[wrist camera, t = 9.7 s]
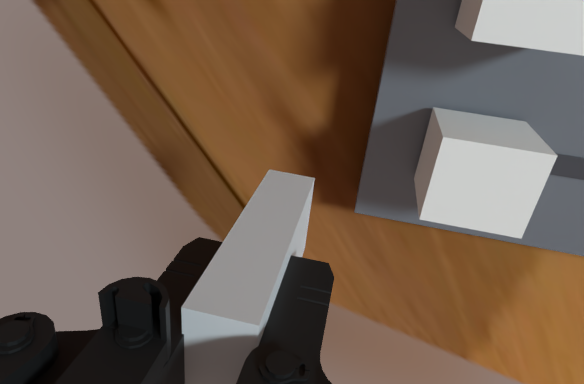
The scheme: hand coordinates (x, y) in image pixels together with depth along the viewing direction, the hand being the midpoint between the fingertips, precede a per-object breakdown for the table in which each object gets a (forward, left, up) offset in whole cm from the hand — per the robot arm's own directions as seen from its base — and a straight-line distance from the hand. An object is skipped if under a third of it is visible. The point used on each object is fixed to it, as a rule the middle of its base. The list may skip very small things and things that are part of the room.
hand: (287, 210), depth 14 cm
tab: (0, +7, -8) cm, 10 cm away
